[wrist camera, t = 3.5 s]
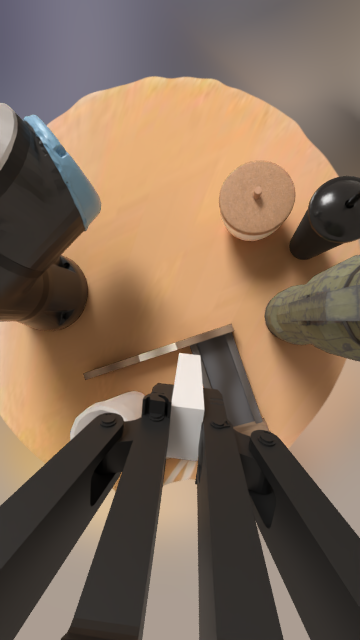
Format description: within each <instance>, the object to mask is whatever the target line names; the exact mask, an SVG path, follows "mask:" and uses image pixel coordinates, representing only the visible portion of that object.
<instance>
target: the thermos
mask: <svg viewBox="0 0 360 640" xmlns="http://www.w3.org/2000/svg"><path fill="white" fill-rule="evenodd" d="M265 321H266V325H267V327H268V329H269V330H270V331H271V332H272V333H273V334H274V335H275V336H276V337H278V338H280V339H282V340H284V341H286V342H289V343H292V344H298V345H306V344H313V345H314V346H315V347H317V348H319V349H321V350H323V351H325V352H327V353H330V354H334V355H337V356H341V357H344V358H348V359H352V360H355V361H360V255H356V256H353V257H351V258H349V259H347V260H345V261H343V262H341V263H339V264H337V265H335V266H333V267H331V268H329V269H327V270H325V271H323V272H321V273H319V274H317V275H315V276H314V277H313V278H312V279H311V280H310V281H309V282H308V283H307V284H305V285H297V286H292V287H290V288H288V289H286V290H284V291H282V292H280V293H278V294H277V295H276V296H274V297H273V298H272V299H271V300H270V301H269V303H268V305H267V307H266V311H265Z"/></svg>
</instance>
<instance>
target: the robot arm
mask: <svg viewBox="0 0 360 640" xmlns="http://www.w3.org/2000/svg"><path fill="white" fill-rule="evenodd" d="M100 210H101V201H100V198H99V196H98V194H97V192H96V191H95V189H94V188H93V186H92V185H91V183H90V182H89V180H88V179H87V177H86V176H85V175H84V173H83V172H82V170H81V169H80V168H79V166H78V165H77V164H76V162H75V161H74V160H73V158H72V157H71V156H70V155H69V154H68V153H67V152H66V151H65V148H64V147H63V146H62V145H61V144H60V142H59V141H58V139H57V138H56V137H55V135H54V134H53V133H52V132H51V130H50V129H49V128H48V127H47V126H46V125H45V123H44V122H43V121H42V120H41V119H40V118H38V117H37V116H36V115H30V116H29V117H28V116H26V117H25V118H24V119H23V120H22V119H21V118H20V117H19V116H18V115H17V114H16V113H15V112H14V111H13V110H12V109H11V108H10V107H9V106H8V105H6V104H4V103H0V321H17V322H20V323H22V324H24V325H27V326H29V327H31V328H34V329H37V330H44V331H50V330H60V329H63V328H65V327H68V326H69V325H71V324H72V323H73V322H75V321H76V320H77V319H78V317H79V316H80V315H81V313H82V311H83V309H84V307H85V304H86V301H87V283H86V279H85V276H84V274H83V272H82V270H81V269H80V268H79V266H78V265H77V264H76V263H75V262H73V261H72V260H71V259H69V258H67V257H64V256H62V255H61V254H62V253H63V252H64V251H65V250H66V249H67V248H68V247H69V246H70V245H71V244H72V243H73V242H74V241H75V240H76V239H77V237H78V236H79V235H80V234H81V233H82V232H83V231H86V230H87V229H88V226H89V225H90V223H91V222H92V221H93V220H94V219H95V218H96V217H97V215H98V214H99V213H100ZM166 457H169V458H177V459H184V460H192V461H197V460H198V467H197V474H196V481H195V484H197V495H198V496H197V500H198V501H197V502H198V567H199V568H198V570H199V636H200V637H199V640H283V635H282V631H281V627H280V623H279V619H278V614H277V610H276V606H275V602H274V598H273V594H272V589H271V585H270V581H269V576H268V573H267V568H266V564H265V560H264V556H263V551H262V547H261V543H260V539H259V534H258V530H257V526H256V523H257V525H258V527H259V529H260V532H261V534H262V536H263V538H264V540H265V542H266V545H267V547H268V549H269V551H270V553H271V555H272V558H273V560H274V562H275V564H276V566H277V568H278V570H279V573H280V575H281V577H282V579H283V581H284V583H285V585H286V588H287V590H288V592H289V594H290V596H291V599H292V601H293V603H294V605H295V607H296V609H297V611H298V614H299V616H300V618H301V620H302V622H303V624H304V627H305V629H306V631H307V633H308V635H309V637H310V639H311V640H360V538H359V537H358V535H357V534H356V533H355V532H354V530H353V529H352V528H351V527H350V525H349V524H348V523H347V522H346V520H345V519H344V518H343V517H342V515H341V514H340V513H339V512H338V510H337V509H336V508H335V507H334V505H333V504H332V503H331V502H330V501H329V499H328V498H327V497H326V496H325V494H324V493H323V492H322V491H321V489H320V488H319V487H318V486H317V484H316V483H315V482H314V481H313V479H312V478H311V477H310V476H309V475H308V473H307V472H306V471H305V470H304V468H303V467H302V466H301V465H300V463H299V462H298V461H297V460H296V458H295V457H294V456H293V455H292V453H291V452H290V451H289V450H288V448H287V447H286V446H285V445H284V443H283V442H282V441H281V440H280V439H279V438H278V437H277V436H276V435H274V434H273V433H271V432H269V431H265V430H255V431H253V432H252V433H251V436H248V435H245V434H242V433H240V432H238V431H236V430H234V429H233V425H232V423H231V422H230V421H229V420H228V419H227V415H226V411H225V406H224V401H223V397H222V394H221V393H220V392H219V391H218V389H209V388H203V384H202V371H201V357H200V355H193V354H184V353H179V358H178V364H177V370H176V377H175V383H174V385H170V384H161V383H158V384H157V385H155V386H154V387H153V390H152V393H151V394H148V395H146V396H145V397H144V398H143V402H142V415H141V417H140V418H139V419H136V420H132V421H124V420H123V417H122V416H121V415H119V414H117V413H103V414H100V415H98V416H97V417H95V418H94V419H93V420H92V421H91V422H90V423H89V424H88V425H87V426H86V427H85V428H83V429H82V430H81V431H80V432H79V433H78V434H77V435H76V436H75V437H74V438H73V439H72V440H71V441H69V442H68V443H67V444H66V445H65V446H64V447H63V448H62V449H61V450H60V451H59V452H58V453H57V454H56V455H54V456H53V457H52V458H51V459H50V460H49V461H48V462H47V463H46V464H45V465H44V466H43V467H42V468H41V469H40V470H38V471H37V472H36V473H35V474H34V475H33V476H32V477H31V478H30V479H29V480H28V481H27V482H26V483H25V484H23V485H22V486H21V487H20V488H19V489H18V490H17V491H16V492H15V493H14V494H13V495H12V496H11V497H9V498H8V499H7V500H6V501H5V502H4V503H3V504H2V505H1V506H0V640H13V639H14V638H15V636H16V635H17V633H18V632H19V630H20V629H21V627H22V626H23V624H24V622H25V621H26V619H27V618H28V616H29V615H30V613H31V612H32V610H33V609H34V607H35V605H36V604H37V603H38V601H39V599H40V598H41V596H42V595H43V593H44V592H45V590H46V589H47V587H48V586H49V584H50V583H51V581H52V579H53V578H54V576H55V575H56V573H57V572H58V570H59V569H60V567H61V566H62V564H63V563H64V561H65V559H66V558H67V556H68V555H69V553H70V552H71V550H72V549H73V547H74V546H75V544H76V543H77V541H78V539H79V538H80V536H81V535H82V533H83V532H84V530H85V529H86V527H87V525H88V524H89V522H90V521H91V519H92V518H93V516H94V515H95V513H96V512H97V510H98V509H99V507H100V506H101V504H102V503H103V501H104V499H105V498H106V496H107V495H108V493H109V492H110V490H111V489H112V487H113V486H114V484H115V483H116V481H117V480H118V478H119V476H120V474H121V472H122V475H121V478H120V481H119V484H118V487H117V490H116V493H115V496H114V499H113V502H112V505H111V508H110V511H109V514H108V517H107V520H106V523H105V526H104V529H103V531H102V535H101V537H100V541H99V543H98V547H97V549H96V552H95V555H94V559H93V561H92V565H91V567H90V570H89V573H88V576H87V579H86V582H85V585H84V588H83V591H82V594H81V597H80V600H79V603H78V606H77V609H76V612H75V615H74V618H73V621H72V623H71V626H70V628H69V630H68V632H67V633H66V634H65V635H64V636H63V637H62V638H61V640H142V636H143V628H144V621H145V613H146V606H147V599H148V591H149V584H150V576H151V569H152V561H153V554H154V546H155V538H156V531H157V524H158V516H159V509H160V502H161V495H162V487H163V480H164V472H165V464H166ZM255 521H256V522H255Z"/></svg>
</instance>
